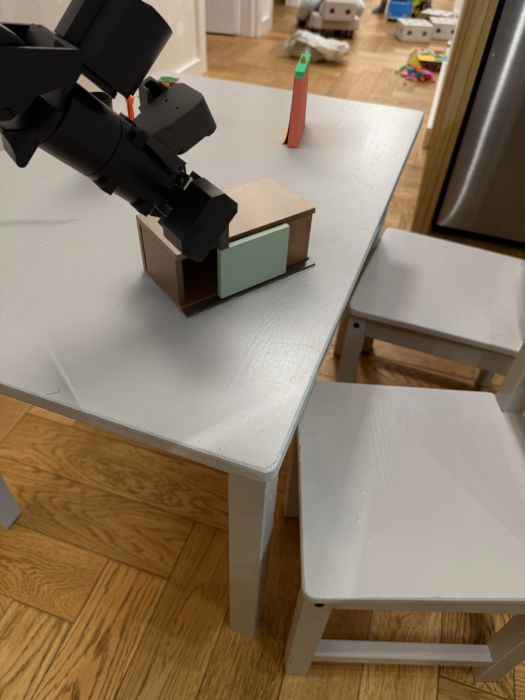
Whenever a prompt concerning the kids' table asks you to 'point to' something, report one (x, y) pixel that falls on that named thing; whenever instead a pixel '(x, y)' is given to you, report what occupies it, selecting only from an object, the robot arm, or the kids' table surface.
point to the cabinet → (252, 217)
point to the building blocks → (296, 107)
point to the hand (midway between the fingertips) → (215, 223)
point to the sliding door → (251, 259)
